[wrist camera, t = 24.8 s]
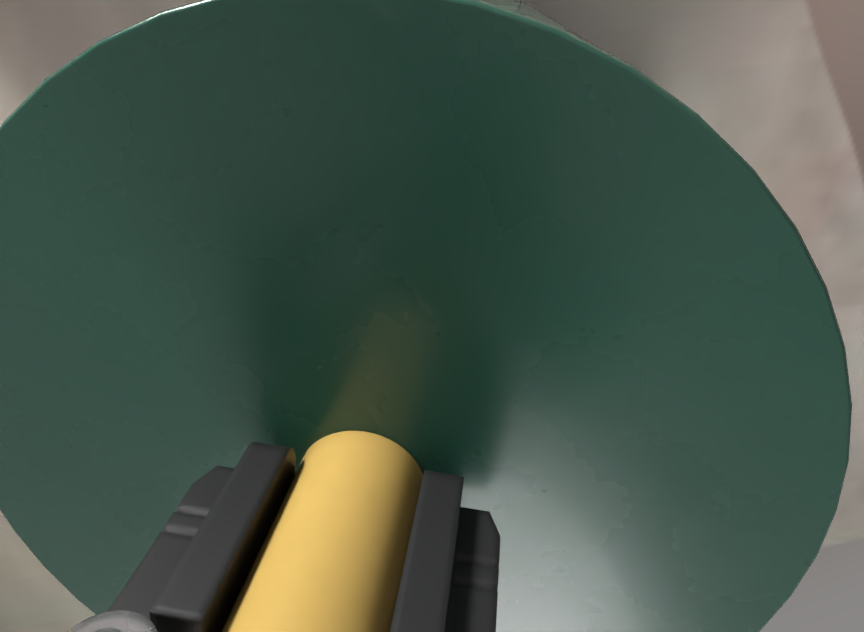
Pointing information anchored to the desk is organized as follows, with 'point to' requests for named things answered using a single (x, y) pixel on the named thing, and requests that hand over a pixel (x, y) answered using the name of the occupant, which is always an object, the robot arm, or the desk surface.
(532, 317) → the lid
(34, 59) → the desk surface
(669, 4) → the desk surface
